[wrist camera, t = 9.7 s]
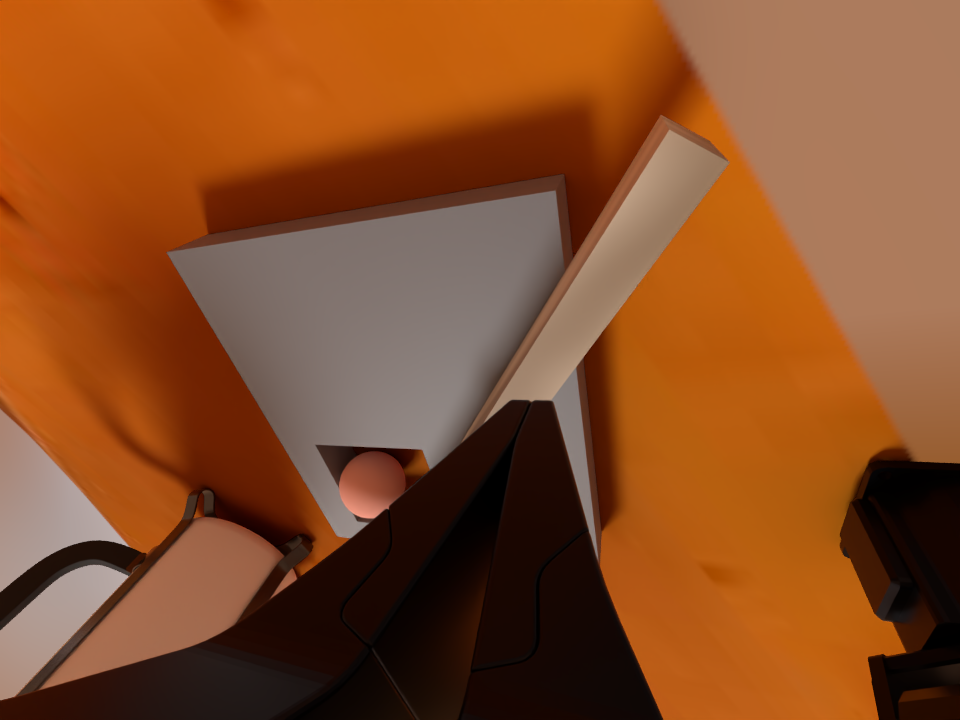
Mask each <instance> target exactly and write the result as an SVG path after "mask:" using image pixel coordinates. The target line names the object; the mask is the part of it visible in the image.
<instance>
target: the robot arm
mask: <svg viewBox="0 0 960 720" xmlns="http://www.w3.org/2000/svg"><path fill="white" fill-rule="evenodd" d="M881 472H882V473H881ZM840 537H841V539H842V540H841V543H840V548H841V551H842V553H843V555H844V556H845V557H847V558H850V560H851V562H852V564H853V566H854V569H855V571H856V573H857V575H858V578H859V580H860V582H861V584H862V587H863V589H864V591H865V593H866V596H867V598H868V600H869V602H870V605H871V607H872V609H873V612H874V613H875V614H876V615H877V616H878V617H879V618H880V619H881V620H883V621H890V622H892V623H893V625H894V627H895V629H896V631H897V633H898V636H899V638H900V640H901V642H902V644H903V646H904V648H905V651H906V653H902V654H896V655H891V656H885V655H884V654H881V655H875V656H870V657H868V662H869V667H870V672H871V677H872V686H873V691H874V696H875V701H876V706H877V711H878V716H879V720H960V464H958V463H934V462H909V461H876V462H873V463H871V464H869V465H868V467H867V468H866V471H865V474H864V477H863V479H862V482H861V485H860V488H859V491H858V494H857V497H856V498H855V499H854V500H853V501H852V502H851V503H850V506H849V508H848V511H847V514H846V517H845V520H844V523H843V526H842V529H841V532H840ZM0 720H663V718H662V715H661V713H660V711H659V709H658V706H657V704H656V702H655V699H654V697H653V695H652V693H651V690H650V688H649V686H648V683H647V681H646V679H645V677H644V674H643V672H642V670H641V667H640V665H639V663H638V661H637V658H636V656H635V654H634V651H633V649H632V647H631V645H630V642H629V640H628V638H627V636H626V633H625V631H624V629H623V626H622V624H621V622H620V619H619V617H618V614H617V612H616V609H615V607H614V604H613V602H612V599H611V597H610V594H609V592H608V589H607V587H606V584H605V581H604V578H603V575H602V571H601V568H600V565H599V562H598V559H597V556H596V552H595V549H594V545H593V542H592V538H591V535H590V533H589V528H588V524H587V521H586V517H585V514H584V510H583V506H582V503H581V499H580V496H579V492H578V488H577V485H576V481H575V477H574V474H573V470H572V467H571V463H570V459H569V456H568V452H567V449H566V445H565V441H564V438H563V434H562V431H561V427H560V423H559V420H558V416H557V413H556V409H555V405H554V402H553V401H551V400H534V401H532V402H531V401H530V400H510V401H509V402H507V403H506V404H505V405H504V406H503V407H502V408H501V409H499V410H498V411H497V412H496V413H495V414H494V415H493V416H491V417H490V418H489V419H488V420H487V421H486V422H485V423H483V424H482V425H481V426H480V427H479V428H478V429H476V430H475V431H474V432H473V433H472V434H471V435H470V436H468V437H467V438H466V439H465V440H464V441H463V442H462V443H460V444H459V445H458V446H457V447H456V448H455V449H454V450H452V451H451V452H450V453H449V454H448V455H447V456H446V457H444V458H443V459H442V460H441V461H440V462H439V463H437V464H436V465H435V466H434V467H433V468H432V469H431V470H429V471H428V472H427V473H426V474H425V475H424V476H423V477H421V478H420V479H419V480H418V481H417V482H416V483H415V484H413V485H412V486H411V487H410V488H409V489H408V490H407V491H405V492H404V493H403V494H402V495H401V496H400V497H398V498H397V499H396V500H395V501H394V502H393V503H392V504H390V505H389V509H384V510H383V511H382V512H381V513H380V514H379V515H378V516H376V517H375V518H374V519H373V520H372V521H371V522H370V523H368V524H367V525H366V526H365V527H364V528H362V529H361V530H360V531H359V532H358V533H356V534H355V535H354V536H353V537H352V538H350V539H349V540H348V541H347V542H346V543H344V544H343V545H342V546H340V547H339V548H338V549H336V550H335V551H334V552H333V553H331V554H330V555H329V556H327V557H326V558H325V559H323V560H322V561H321V562H320V563H318V564H317V565H316V566H314V567H313V568H312V569H310V570H309V571H307V572H306V573H305V574H303V575H302V576H301V577H299V578H298V579H297V580H295V581H294V582H293V583H291V584H290V585H288V586H287V587H286V588H284V589H283V590H282V591H280V592H279V593H278V594H276V595H275V596H274V597H272V598H271V599H269V600H268V601H267V602H265V603H264V604H263V605H261V606H260V607H259V608H257V609H256V610H255V611H253V612H252V613H250V614H249V615H248V616H246V617H245V618H244V619H242V620H241V621H239V622H238V623H236V624H235V625H233V626H232V627H230V628H228V629H227V630H225V631H223V632H221V633H220V634H218V635H216V636H214V637H212V638H210V639H208V640H206V641H203V642H201V643H198V644H196V645H193V646H190V647H187V648H184V649H181V650H177V651H174V652H170V653H167V654H163V655H160V656H156V657H153V658H149V659H146V660H142V661H139V662H135V663H132V664H128V665H125V666H121V667H118V668H114V669H111V670H107V671H104V672H100V673H97V674H93V675H90V676H86V677H83V678H79V679H76V680H72V681H69V682H65V683H62V684H58V685H55V686H51V687H48V688H44V689H41V690H37V691H34V692H30V693H27V694H23V695H20V696H16V697H12V698H8V699H4V700H0Z"/></svg>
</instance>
